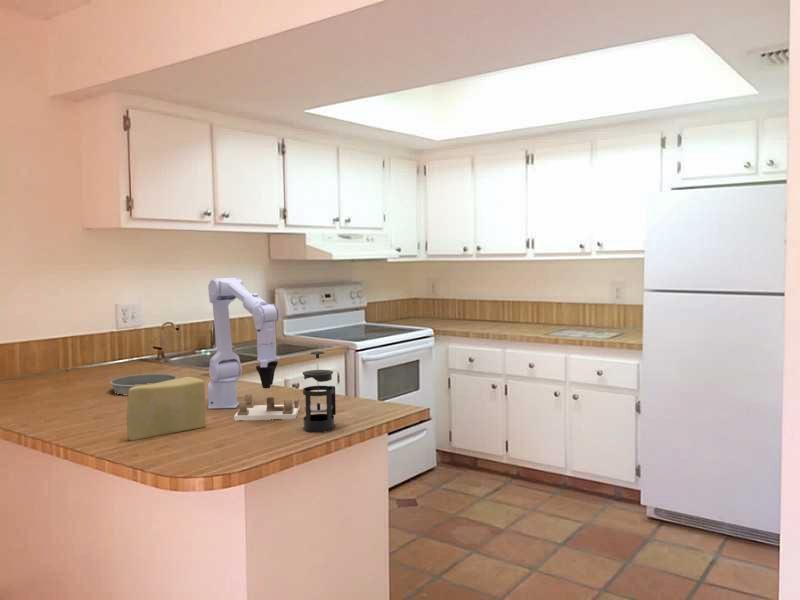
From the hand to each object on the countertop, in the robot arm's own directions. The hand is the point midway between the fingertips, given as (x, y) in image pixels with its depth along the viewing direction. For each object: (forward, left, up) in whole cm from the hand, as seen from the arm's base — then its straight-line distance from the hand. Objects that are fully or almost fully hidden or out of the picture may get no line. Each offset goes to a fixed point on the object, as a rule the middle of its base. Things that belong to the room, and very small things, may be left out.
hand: (267, 386), depth 207 cm
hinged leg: (+3, +5, -9) cm, 11 cm away
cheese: (-28, -13, -11) cm, 33 cm away
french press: (+17, -12, -11) cm, 24 cm away
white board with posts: (-1, +6, -10) cm, 12 cm away
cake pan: (-55, +52, -11) cm, 76 cm away
